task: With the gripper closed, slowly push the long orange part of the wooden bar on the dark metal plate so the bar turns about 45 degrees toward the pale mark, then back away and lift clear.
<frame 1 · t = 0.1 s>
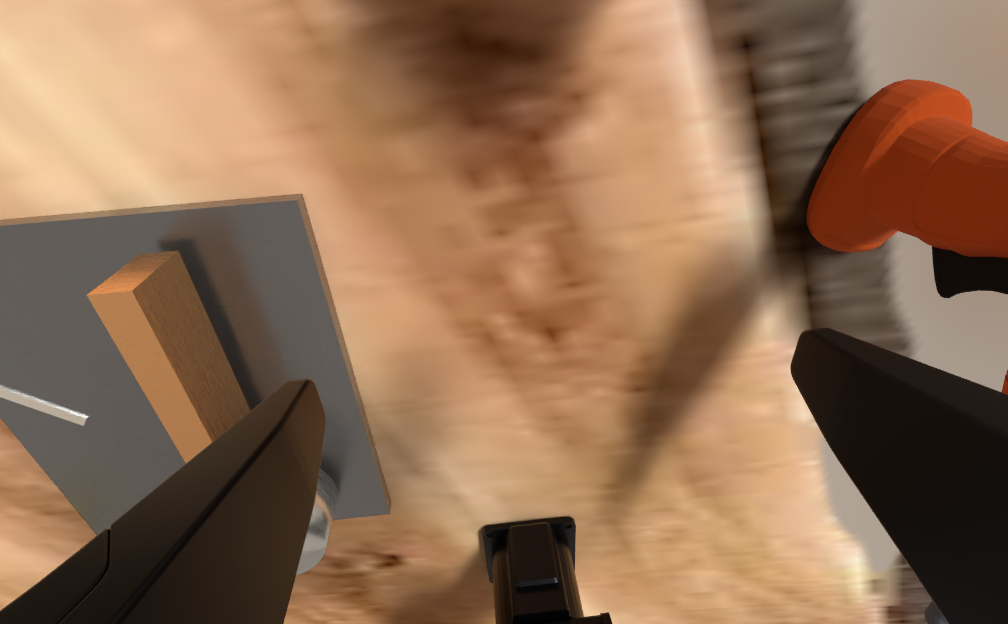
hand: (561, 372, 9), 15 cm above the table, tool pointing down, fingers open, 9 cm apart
toy drill: (822, 253, 25), on the table
chuck base plate: (188, 397, 27), on the table
wooden bar: (225, 446, 24), point 3 cm above the table, hinge at 0.0°
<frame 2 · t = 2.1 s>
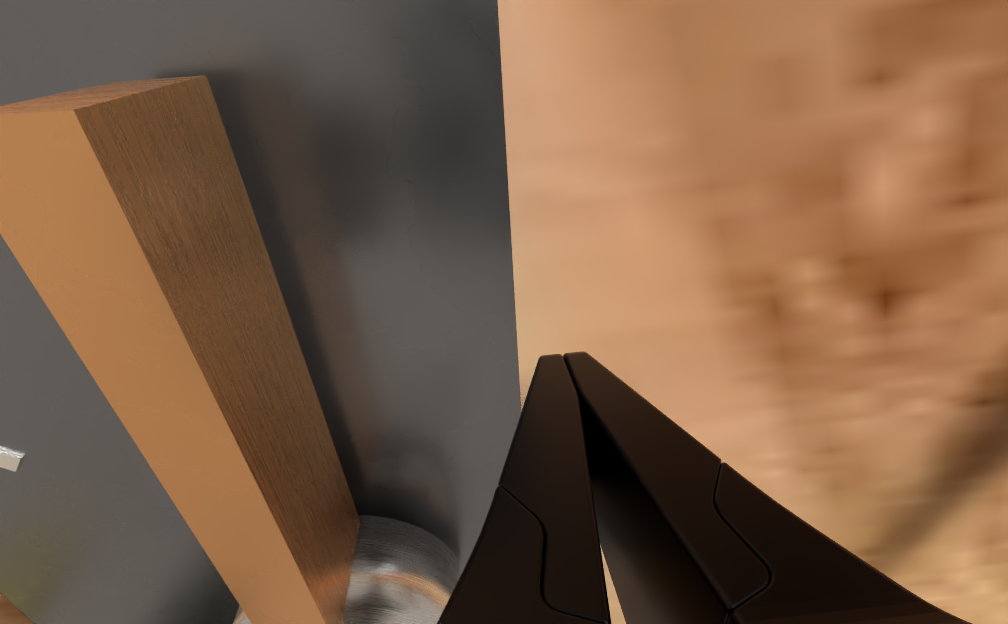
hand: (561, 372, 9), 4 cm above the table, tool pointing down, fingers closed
chuck base plate: (213, 416, 14), on the table
wooden bar: (291, 520, 12), point 3 cm above the table, hinge at 0.0°
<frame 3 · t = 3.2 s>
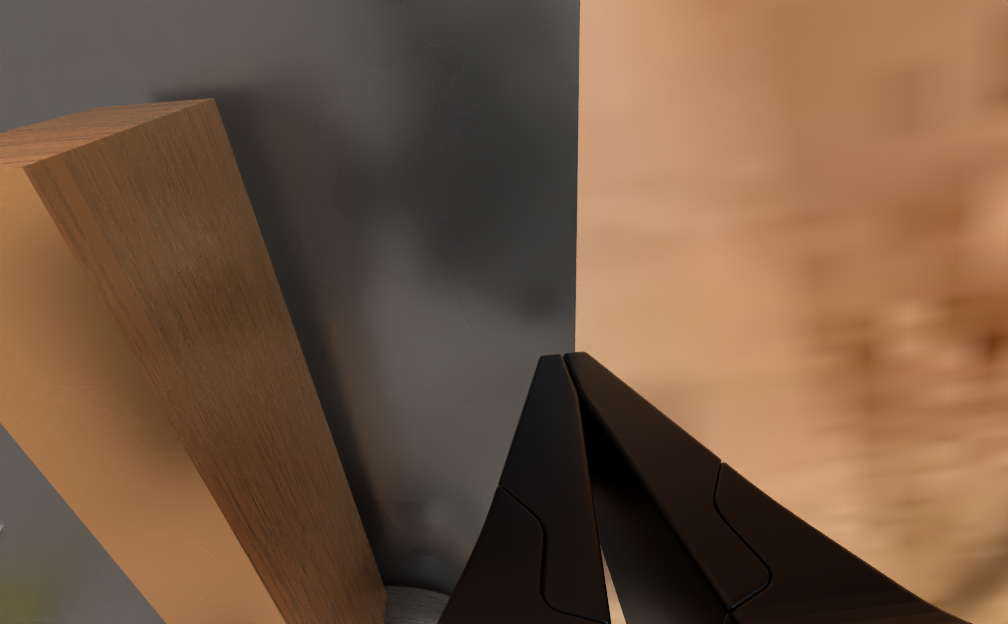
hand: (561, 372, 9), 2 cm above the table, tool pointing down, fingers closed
chuck base plate: (219, 478, 13), on the table
wooden bar: (313, 614, 10), point 3 cm above the table, hinge at 0.0°
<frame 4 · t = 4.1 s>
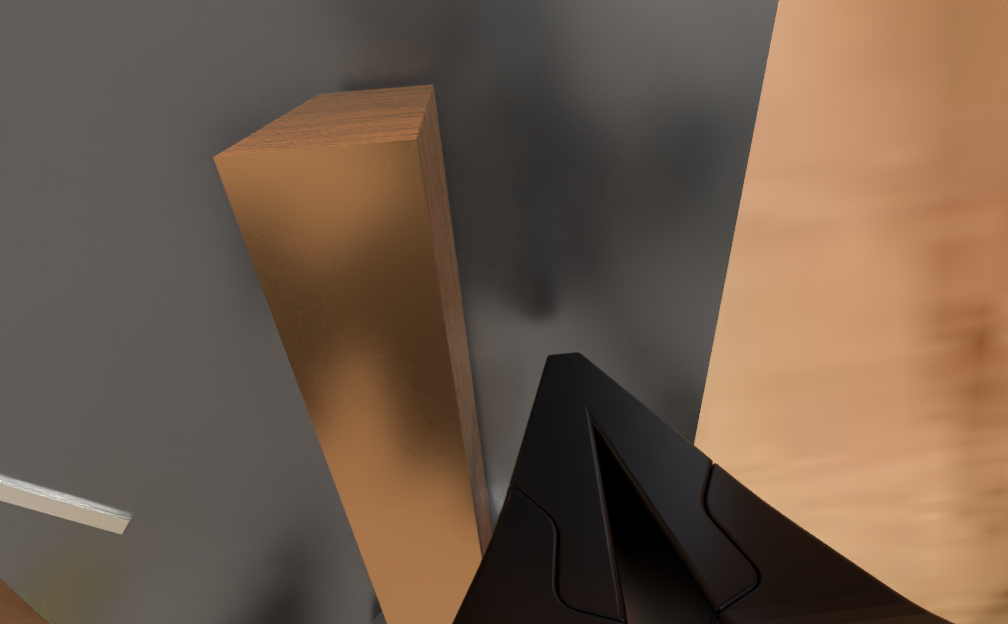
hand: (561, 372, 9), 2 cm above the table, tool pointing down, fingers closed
chuck base plate: (339, 467, 13), on the table
wooden bar: (458, 598, 10), point 3 cm above the table, hinge at 0.1°, touching gripper
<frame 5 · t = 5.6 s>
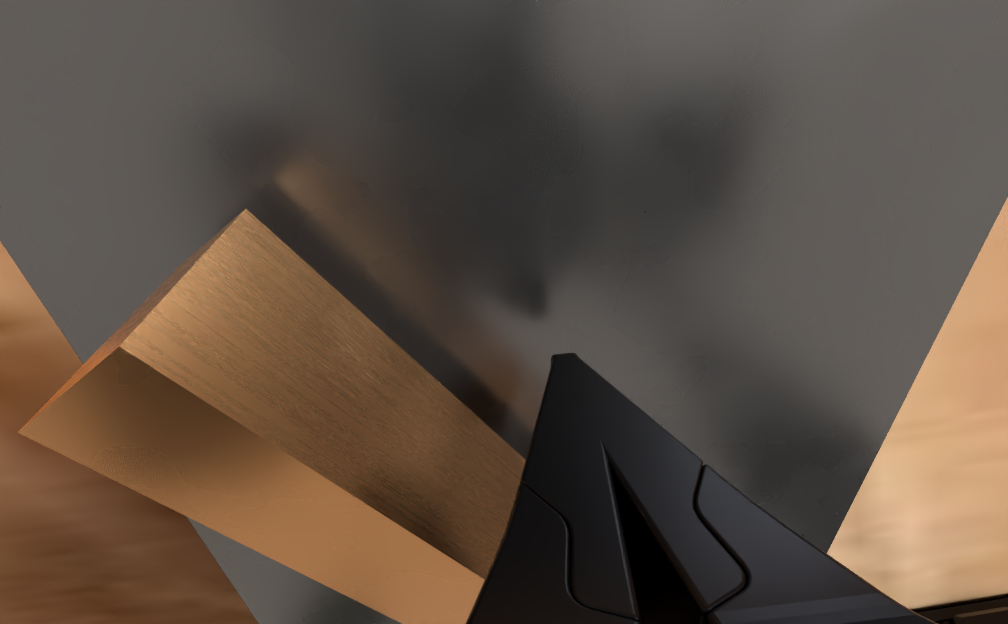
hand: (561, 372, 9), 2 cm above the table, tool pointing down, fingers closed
chuck base plate: (549, 426, 13), on the table
wooden bar: (565, 592, 11), point 3 cm above the table, hinge at 32.1°, touching gripper
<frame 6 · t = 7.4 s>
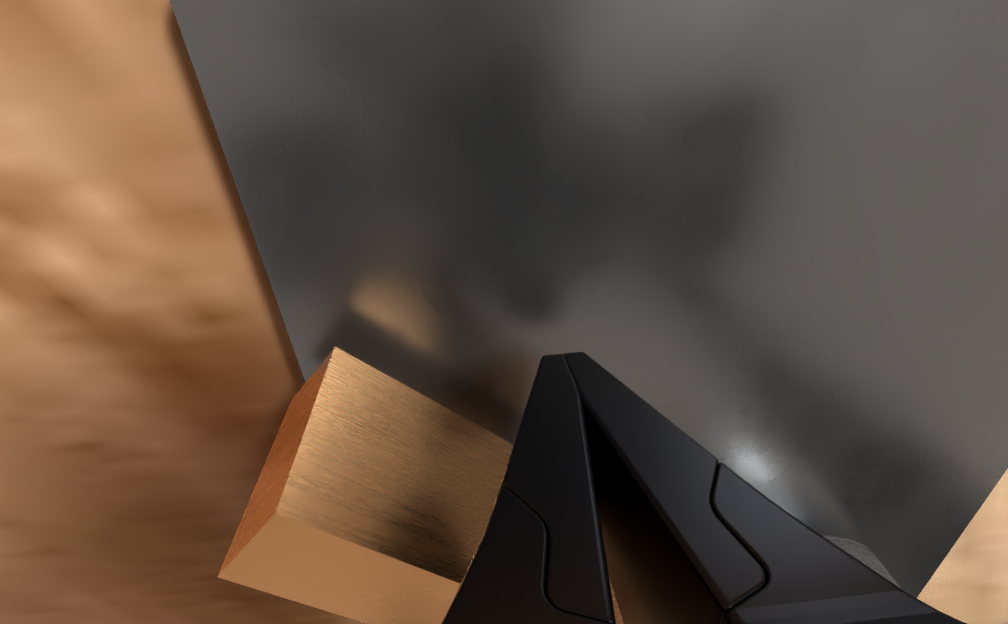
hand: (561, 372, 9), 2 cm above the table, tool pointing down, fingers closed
chuck base plate: (691, 427, 13), on the table
wooden bar: (671, 617, 12), point 3 cm above the table, hinge at 45.9°, touching gripper
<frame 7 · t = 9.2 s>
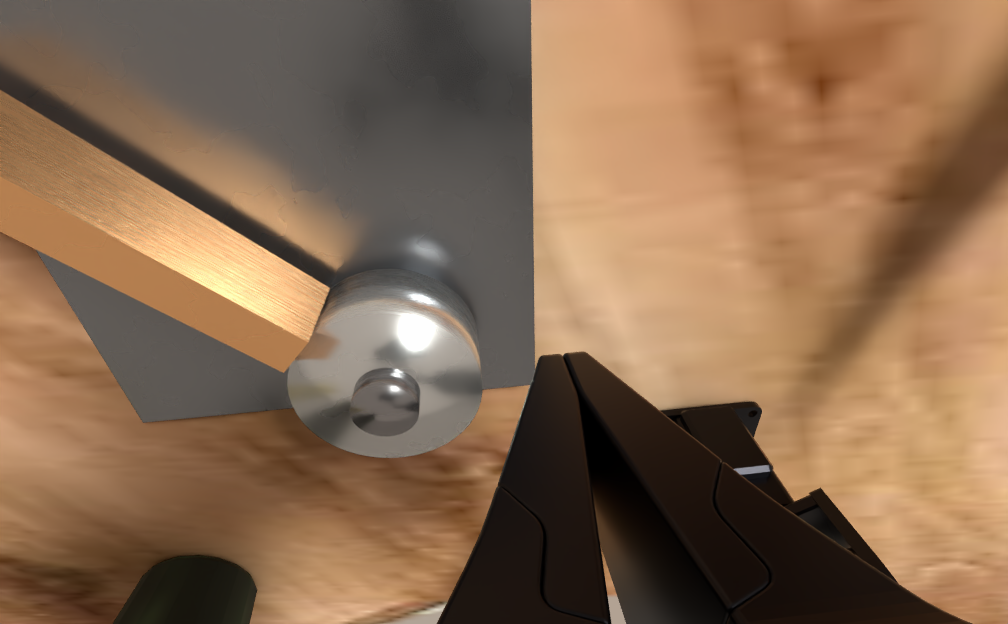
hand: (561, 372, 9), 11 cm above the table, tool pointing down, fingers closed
potion bottle: (204, 579, 31), on the table
chuck base plate: (283, 174, 18), on the table
wooden bar: (233, 287, 16), point 3 cm above the table, hinge at 46.0°
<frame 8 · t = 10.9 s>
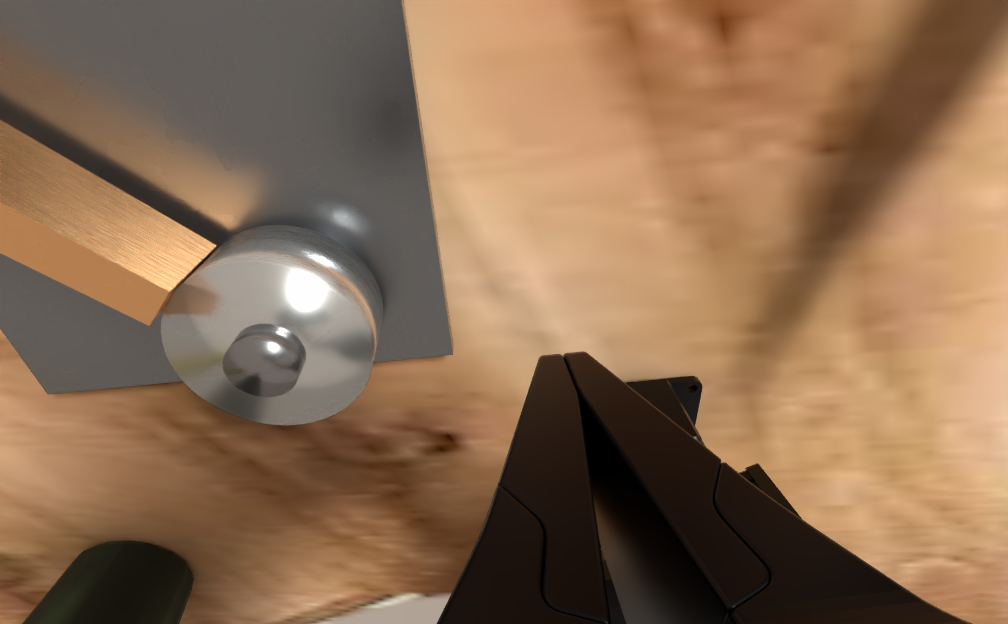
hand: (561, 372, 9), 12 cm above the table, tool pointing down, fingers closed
potion bottle: (139, 567, 30), on the table
chuck base plate: (162, 126, 17), on the table
wooden bar: (98, 237, 16), point 3 cm above the table, hinge at 46.0°
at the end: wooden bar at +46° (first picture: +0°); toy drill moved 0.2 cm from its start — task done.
